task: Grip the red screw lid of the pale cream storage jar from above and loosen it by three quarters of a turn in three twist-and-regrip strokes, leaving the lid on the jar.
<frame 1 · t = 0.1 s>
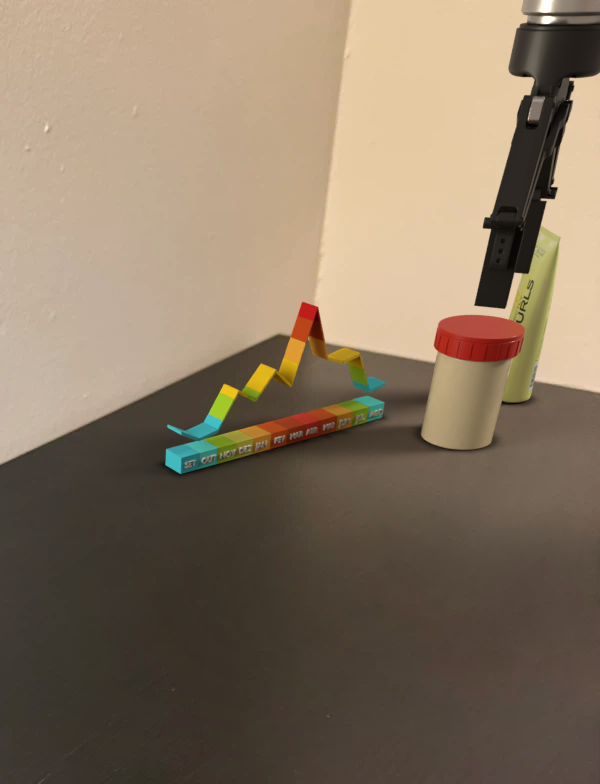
hand: (502, 288, 95), 19 cm above the table, tool pointing down, fingers open, 13 cm apart
jar: (455, 436, 116), on the table
chart: (278, 442, 116), on the table
tube: (508, 398, 126), on the table
lid: (480, 331, 108), point 12 cm above the table, screwed on, not yet turned
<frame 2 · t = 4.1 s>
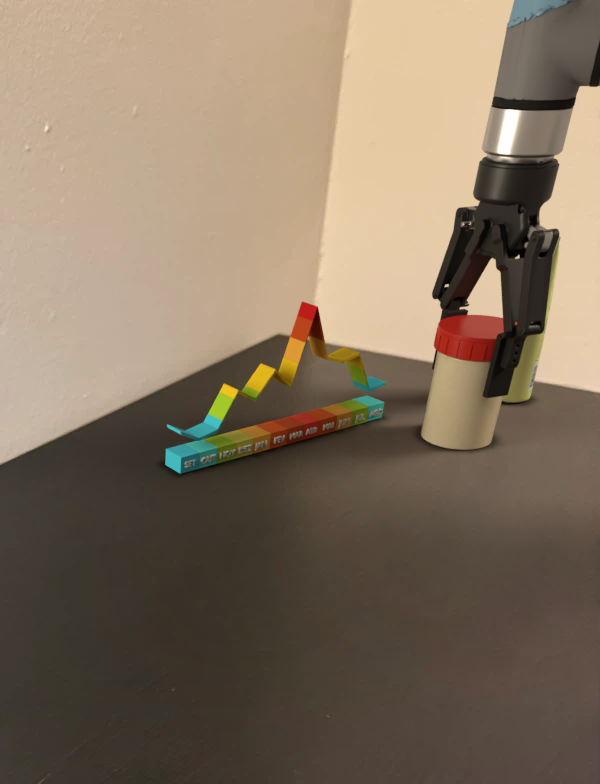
hand: (468, 381, 112), 7 cm above the table, tool pointing down, fingers closed on lid, 9 cm apart
lid: (480, 331, 108), point 12 cm above the table, screwed on, not yet turned, touching gripper
everything else where it was.
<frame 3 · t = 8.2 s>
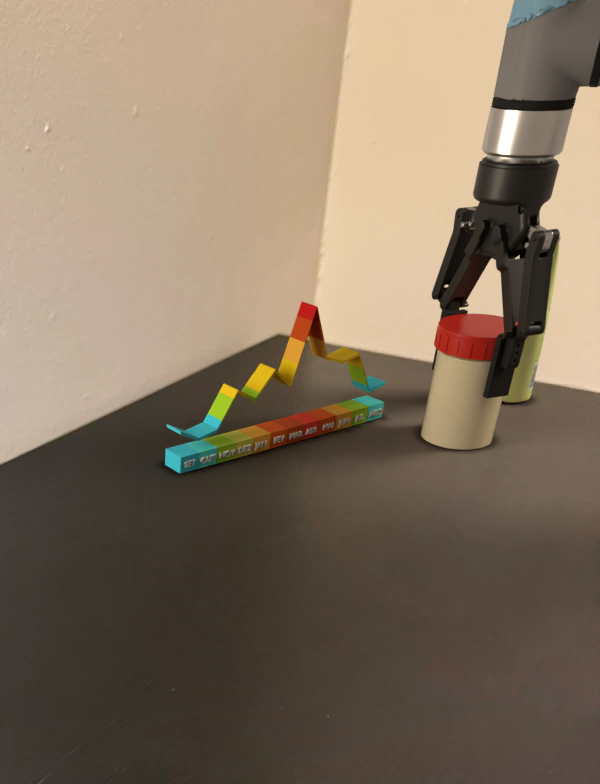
hand: (468, 381, 112), 6 cm above the table, tool pointing down, fingers closed on lid, 9 cm apart
lid: (480, 329, 108), point 12 cm above the table, turned 90° so far, risen 0.1 cm, still on its thread, touching gripper
everything else where it was.
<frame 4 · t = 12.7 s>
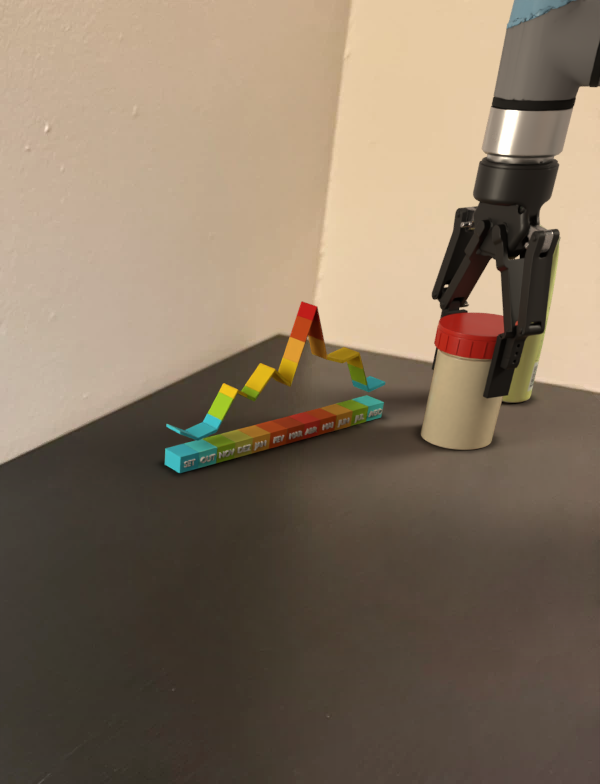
hand: (468, 381, 112), 6 cm above the table, tool pointing down, fingers closed on lid, 9 cm apart
lid: (480, 328, 108), point 12 cm above the table, turned 179° so far, risen 0.2 cm, still on its thread, touching gripper
everything else where it was.
when the fingers open (6 cm above the table, at t = 14.9 s): lid stays where it is, point 12 cm above the table.
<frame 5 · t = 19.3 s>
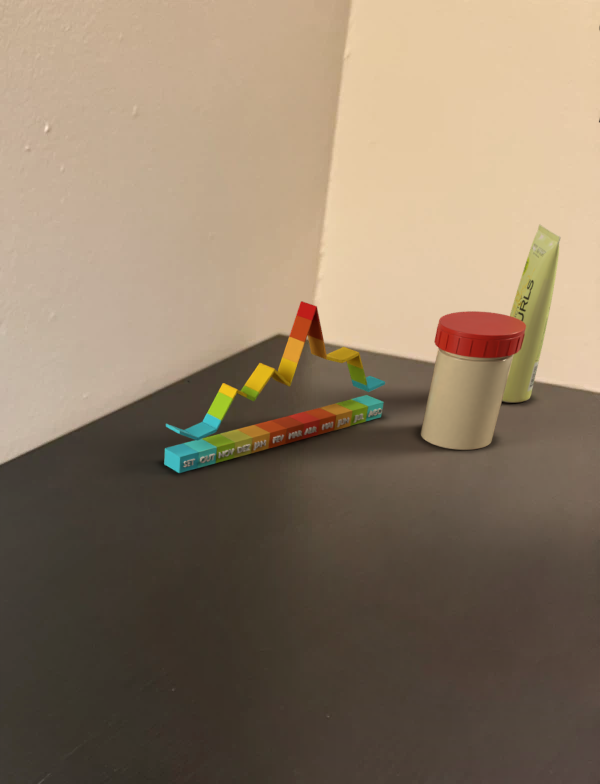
lid: (481, 327, 108), point 12 cm above the table, turned 269° so far, risen 0.4 cm, still on its thread
everything else where it was.
at the end: lid turned 0.75 turns (still on its thread); lid is still on its thread (0.75 turns); jar tilted 0° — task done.
